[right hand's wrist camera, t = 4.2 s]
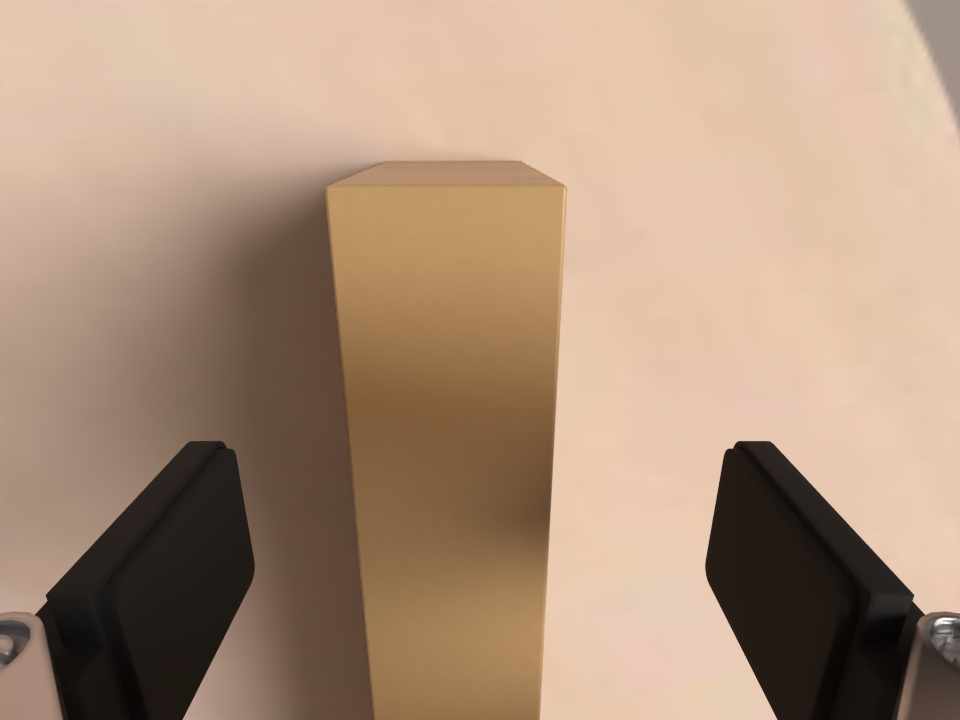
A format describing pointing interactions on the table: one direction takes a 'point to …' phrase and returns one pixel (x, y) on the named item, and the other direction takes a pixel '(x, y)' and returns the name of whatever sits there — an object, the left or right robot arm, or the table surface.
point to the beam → (450, 425)
